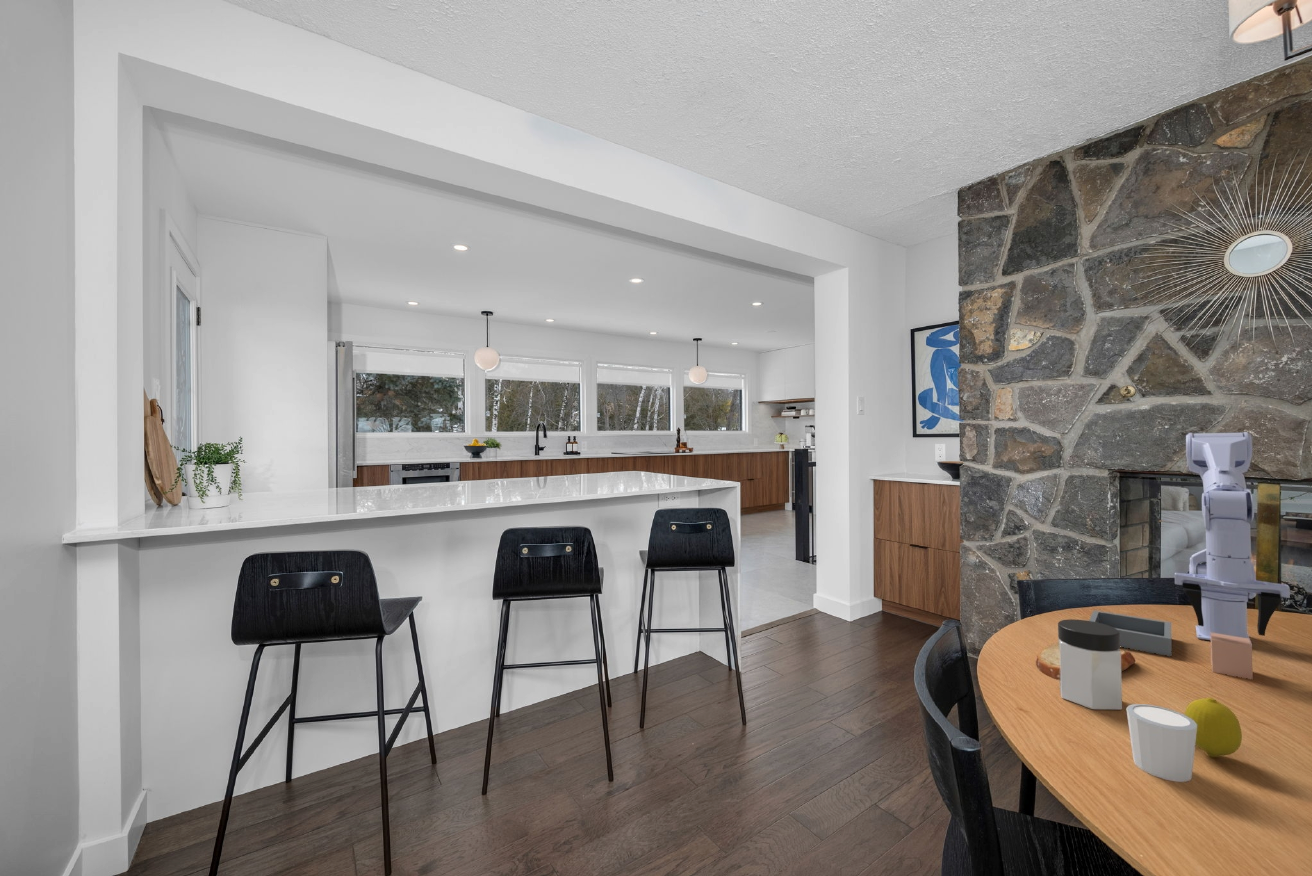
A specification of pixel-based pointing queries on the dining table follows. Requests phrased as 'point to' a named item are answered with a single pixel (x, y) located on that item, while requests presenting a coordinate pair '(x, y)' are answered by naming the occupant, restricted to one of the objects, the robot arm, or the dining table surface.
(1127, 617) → the bin
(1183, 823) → the dining table surface
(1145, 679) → the dining table surface
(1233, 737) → the lemon
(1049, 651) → the bread slice
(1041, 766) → the dining table surface
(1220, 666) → the block
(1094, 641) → the jar
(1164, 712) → the white cup
